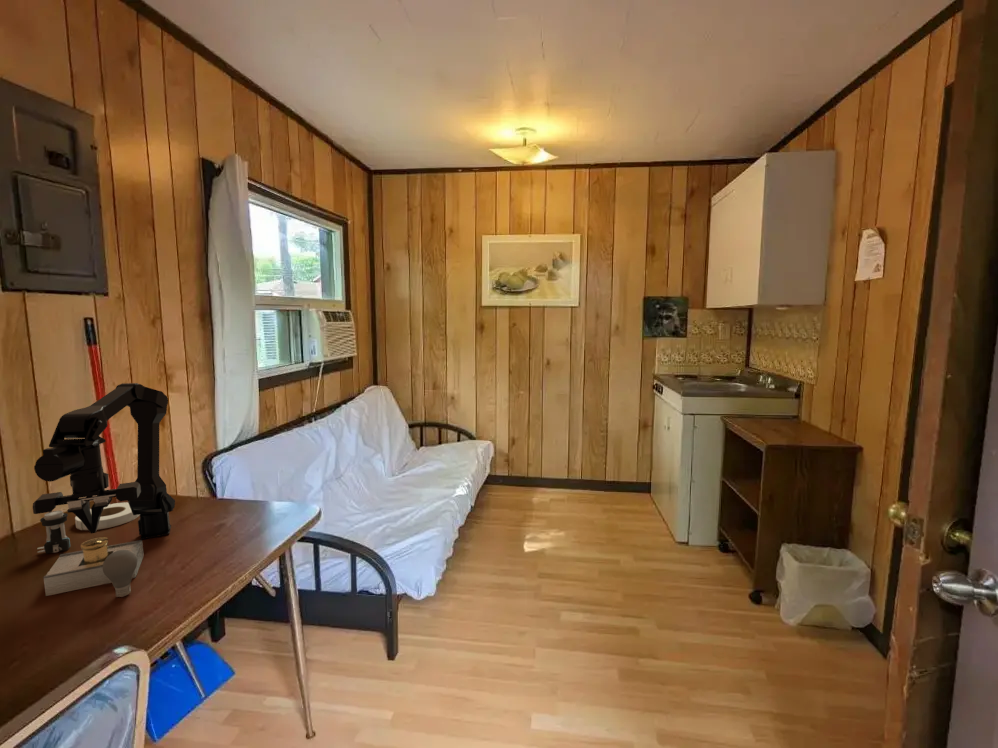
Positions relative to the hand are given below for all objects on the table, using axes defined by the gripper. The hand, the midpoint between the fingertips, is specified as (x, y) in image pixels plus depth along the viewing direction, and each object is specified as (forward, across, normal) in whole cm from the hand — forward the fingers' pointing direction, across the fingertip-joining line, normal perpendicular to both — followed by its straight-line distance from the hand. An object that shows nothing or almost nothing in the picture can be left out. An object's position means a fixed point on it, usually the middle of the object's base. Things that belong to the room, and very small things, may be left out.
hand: (93, 532), depth 118 cm
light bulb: (+10, -7, +14) cm, 19 cm away
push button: (+10, +13, -21) cm, 27 cm away
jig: (+10, 0, 0) cm, 10 cm away
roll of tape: (+11, +5, -40) cm, 42 cm away
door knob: (+10, 0, 0) cm, 10 cm away
